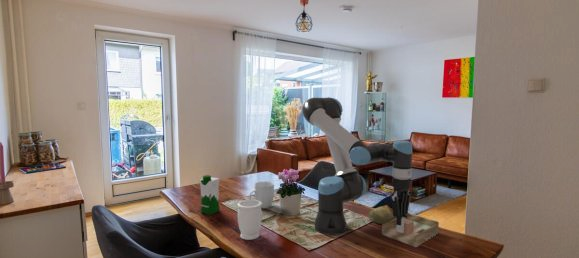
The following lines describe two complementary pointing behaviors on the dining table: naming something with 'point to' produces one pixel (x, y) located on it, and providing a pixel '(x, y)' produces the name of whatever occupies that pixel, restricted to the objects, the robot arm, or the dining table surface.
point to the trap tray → (420, 232)
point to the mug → (264, 193)
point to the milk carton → (209, 195)
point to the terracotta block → (408, 226)
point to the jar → (249, 218)
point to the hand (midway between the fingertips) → (400, 231)
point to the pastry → (381, 215)
